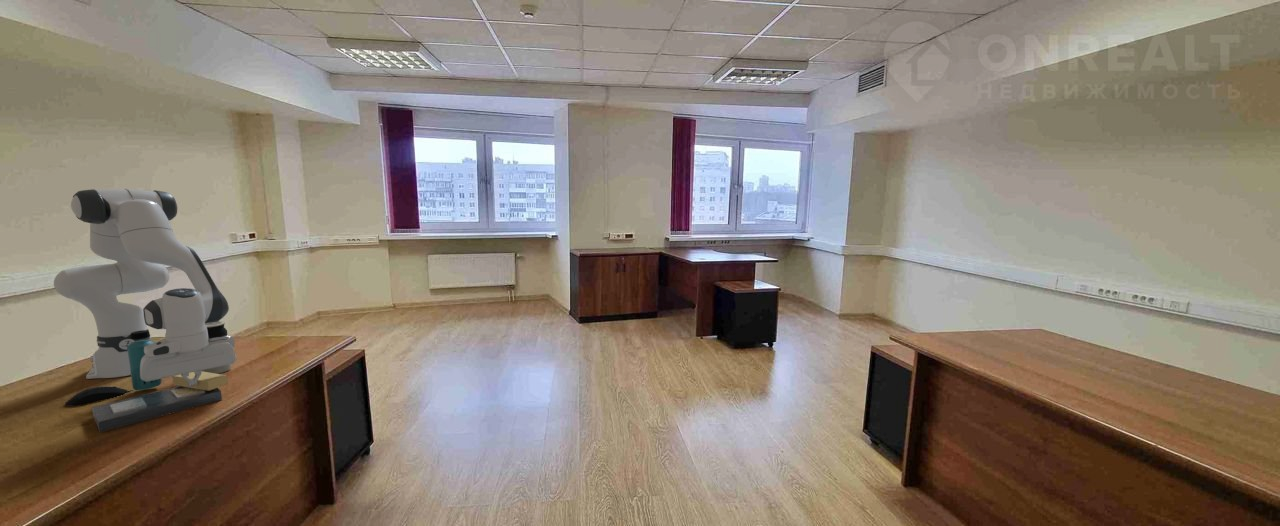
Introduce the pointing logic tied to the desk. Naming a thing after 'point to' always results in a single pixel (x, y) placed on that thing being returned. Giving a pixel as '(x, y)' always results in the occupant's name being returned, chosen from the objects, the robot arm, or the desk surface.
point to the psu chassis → (151, 406)
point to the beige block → (202, 380)
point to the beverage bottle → (139, 360)
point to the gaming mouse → (95, 395)
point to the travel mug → (213, 332)
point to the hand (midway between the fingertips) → (193, 385)
